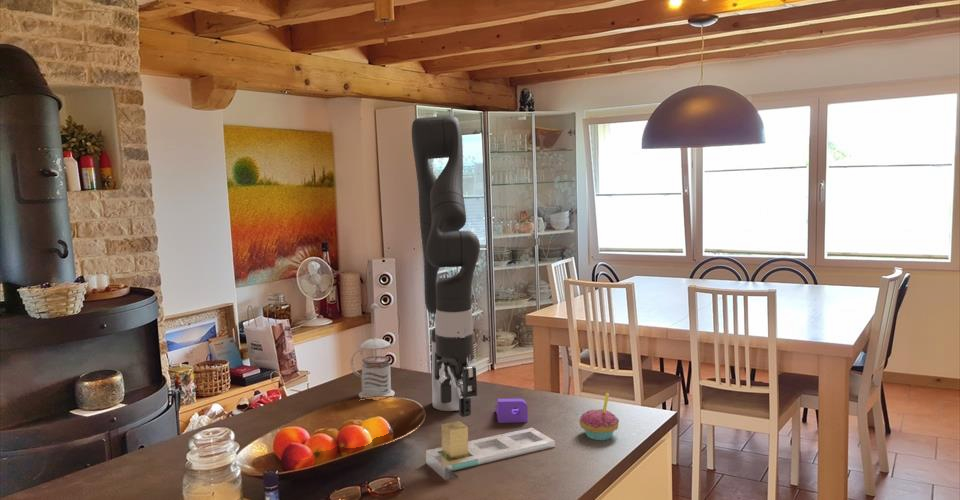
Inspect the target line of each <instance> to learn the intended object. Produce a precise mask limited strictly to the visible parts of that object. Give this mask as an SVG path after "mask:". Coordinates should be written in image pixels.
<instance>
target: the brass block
mask: <svg viewBox="0 0 960 500" xmlns="http://www.w3.org/2000/svg"><path fill="white" fill-rule="evenodd" d="M440 426H441V429H440V430H441V447H442V456H443V457H444V458H445V459H446V460H447V461H453V460H457V459H462V458H466V457H468V441H469V427H468V426H467V425H466V424H464V423H463V422H461V421H459V420H457V421H452V422H447V423H442V424H440Z"/></svg>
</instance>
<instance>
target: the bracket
mask: <svg viewBox="0 0 960 500" xmlns="http://www.w3.org/2000/svg"><path fill="white" fill-rule="evenodd" d="M528 409H529V408H528V404H527V402H526V400H525V399H523V398H497V404H496V405H495V407H494V411H495V412H496V418H497V422H498V423H499V424H503V423H506V424H507V423H508V424H509V423H528V420H529V419H528V415H529V414H528V411H529V410H528ZM495 412H494V413H495Z"/></svg>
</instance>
